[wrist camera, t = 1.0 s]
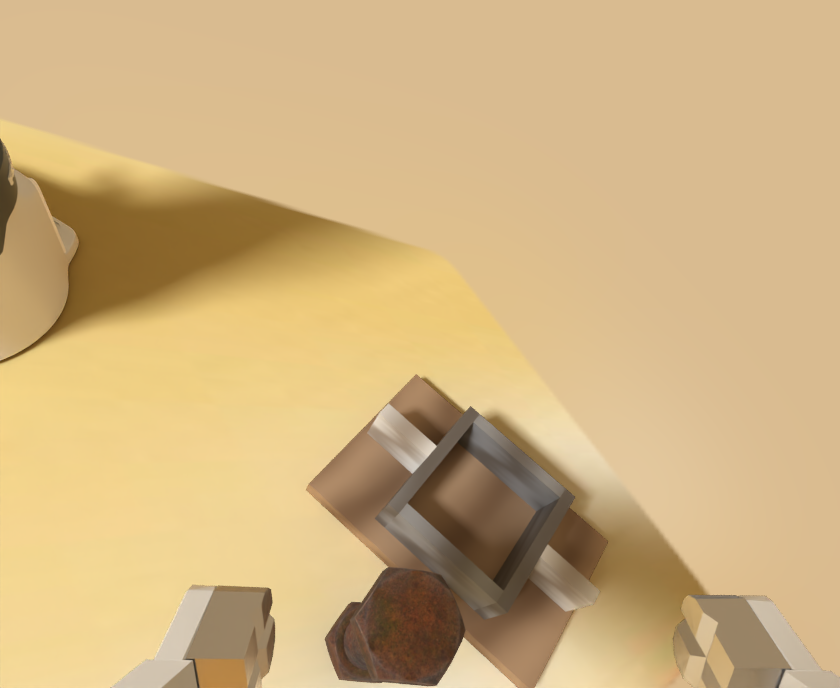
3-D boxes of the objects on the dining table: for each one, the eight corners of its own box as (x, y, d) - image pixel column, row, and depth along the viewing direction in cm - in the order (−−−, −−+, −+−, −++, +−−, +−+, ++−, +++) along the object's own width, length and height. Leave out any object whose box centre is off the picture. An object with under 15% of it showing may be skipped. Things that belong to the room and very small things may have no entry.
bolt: (302, 685, 38) (349, 677, 26) (314, 603, 41) (362, 561, 29) (386, 693, 39) (468, 688, 27) (392, 613, 42) (469, 576, 30)
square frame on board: (306, 489, 45) (317, 466, 40) (411, 381, 53) (430, 352, 48) (522, 691, 42) (560, 690, 38) (598, 545, 50) (637, 530, 46)
